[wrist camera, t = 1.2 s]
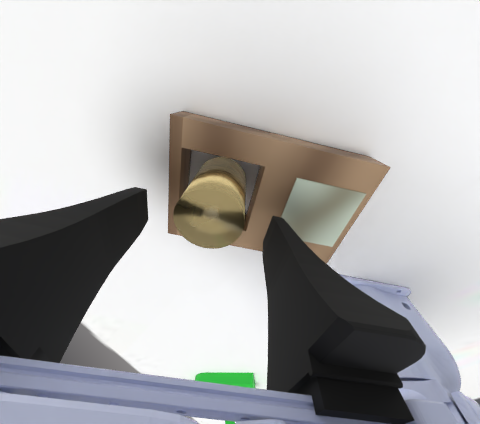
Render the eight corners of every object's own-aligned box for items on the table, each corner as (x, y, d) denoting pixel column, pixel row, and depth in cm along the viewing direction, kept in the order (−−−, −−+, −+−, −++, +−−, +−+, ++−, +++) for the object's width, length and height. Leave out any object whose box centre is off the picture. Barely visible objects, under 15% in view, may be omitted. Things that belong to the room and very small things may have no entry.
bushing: (251, 163, 15) (252, 198, 10) (240, 205, 17) (236, 253, 12) (200, 151, 14) (174, 181, 9) (196, 196, 17) (172, 241, 11)
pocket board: (369, 156, 14) (391, 168, 12) (317, 244, 19) (327, 264, 17) (182, 111, 13) (169, 114, 11) (177, 216, 18) (167, 233, 16)
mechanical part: (252, 371, 36) (253, 434, 30) (255, 383, 40) (256, 442, 33) (192, 371, 38) (180, 432, 31) (199, 382, 41) (189, 440, 34)
